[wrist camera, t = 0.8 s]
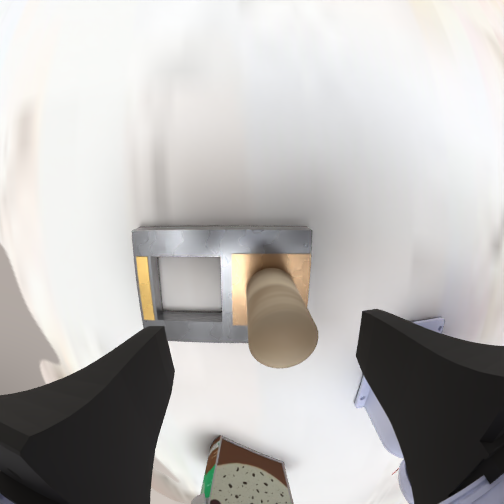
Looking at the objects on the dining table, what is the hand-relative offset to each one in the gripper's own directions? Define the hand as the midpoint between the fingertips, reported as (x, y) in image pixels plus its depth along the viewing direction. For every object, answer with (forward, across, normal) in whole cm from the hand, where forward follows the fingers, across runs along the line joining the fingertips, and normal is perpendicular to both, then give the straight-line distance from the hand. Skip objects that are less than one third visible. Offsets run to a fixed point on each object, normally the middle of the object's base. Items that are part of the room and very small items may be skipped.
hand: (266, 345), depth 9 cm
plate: (+10, +2, +1) cm, 10 cm away
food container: (+10, +3, +24) cm, 26 cm away
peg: (+8, -1, +1) cm, 8 cm away
